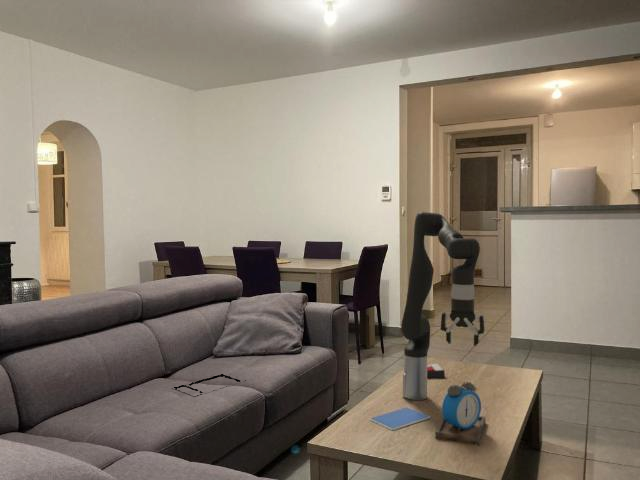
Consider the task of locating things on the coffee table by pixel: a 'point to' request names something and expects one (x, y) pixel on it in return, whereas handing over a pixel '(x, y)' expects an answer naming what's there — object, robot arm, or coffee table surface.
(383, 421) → the blue notebook
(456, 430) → the tray
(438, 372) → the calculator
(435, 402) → the coffee table surface
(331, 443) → the coffee table surface
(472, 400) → the alarm clock
